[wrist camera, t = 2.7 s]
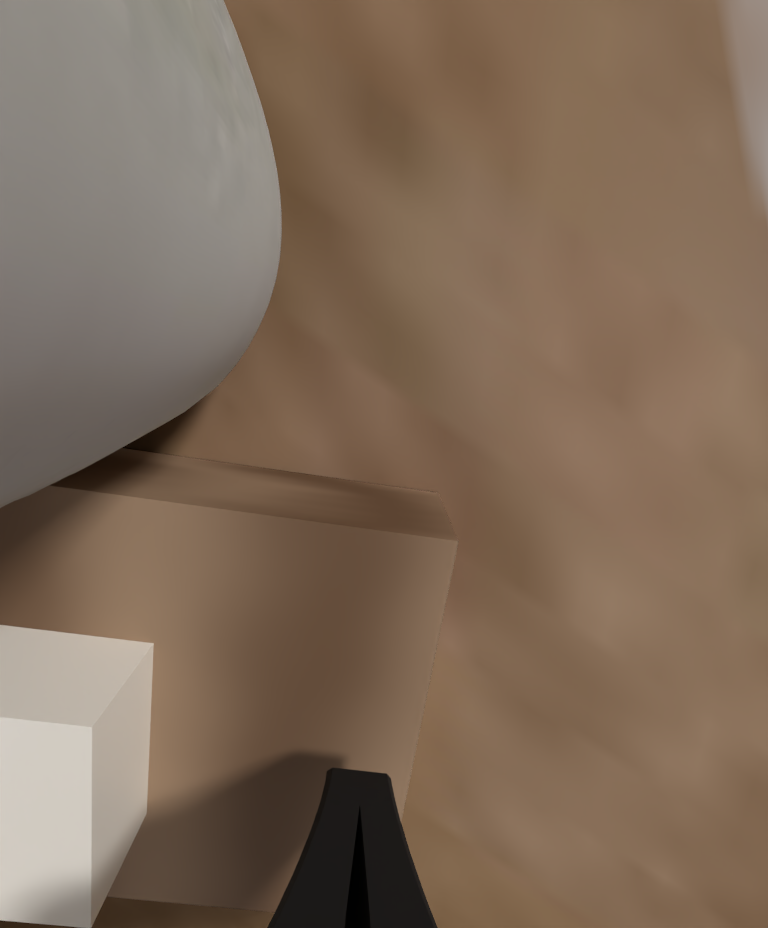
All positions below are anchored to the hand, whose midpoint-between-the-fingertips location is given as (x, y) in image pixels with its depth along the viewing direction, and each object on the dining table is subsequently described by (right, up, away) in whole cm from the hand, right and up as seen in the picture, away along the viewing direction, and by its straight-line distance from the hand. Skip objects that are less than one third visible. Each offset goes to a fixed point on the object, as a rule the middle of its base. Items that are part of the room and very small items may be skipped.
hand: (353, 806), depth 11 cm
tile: (-7, +1, +1) cm, 8 cm away
